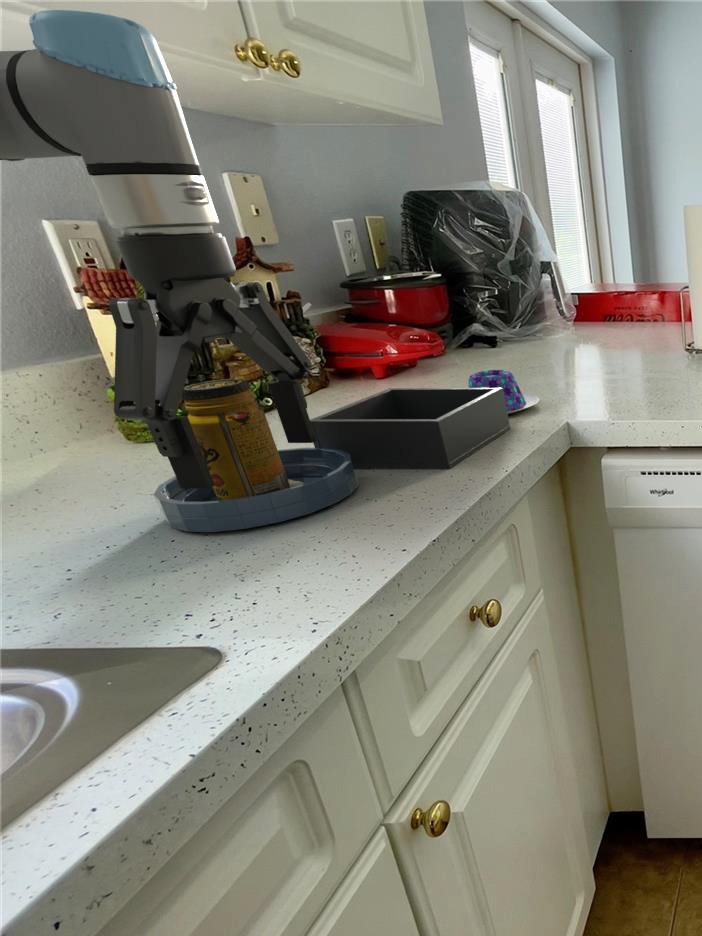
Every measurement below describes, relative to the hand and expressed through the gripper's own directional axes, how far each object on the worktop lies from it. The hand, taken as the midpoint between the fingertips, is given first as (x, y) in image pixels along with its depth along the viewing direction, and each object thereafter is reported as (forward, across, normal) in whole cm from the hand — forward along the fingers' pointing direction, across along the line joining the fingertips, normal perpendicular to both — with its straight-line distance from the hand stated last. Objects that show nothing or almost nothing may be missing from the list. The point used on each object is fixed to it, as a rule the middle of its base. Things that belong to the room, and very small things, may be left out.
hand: (254, 463), depth 71 cm
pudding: (+4, +36, -7) cm, 37 cm away
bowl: (+4, 0, 0) cm, 4 cm away
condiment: (+4, 0, 0) cm, 4 cm away
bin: (+4, +18, -6) cm, 19 cm away
